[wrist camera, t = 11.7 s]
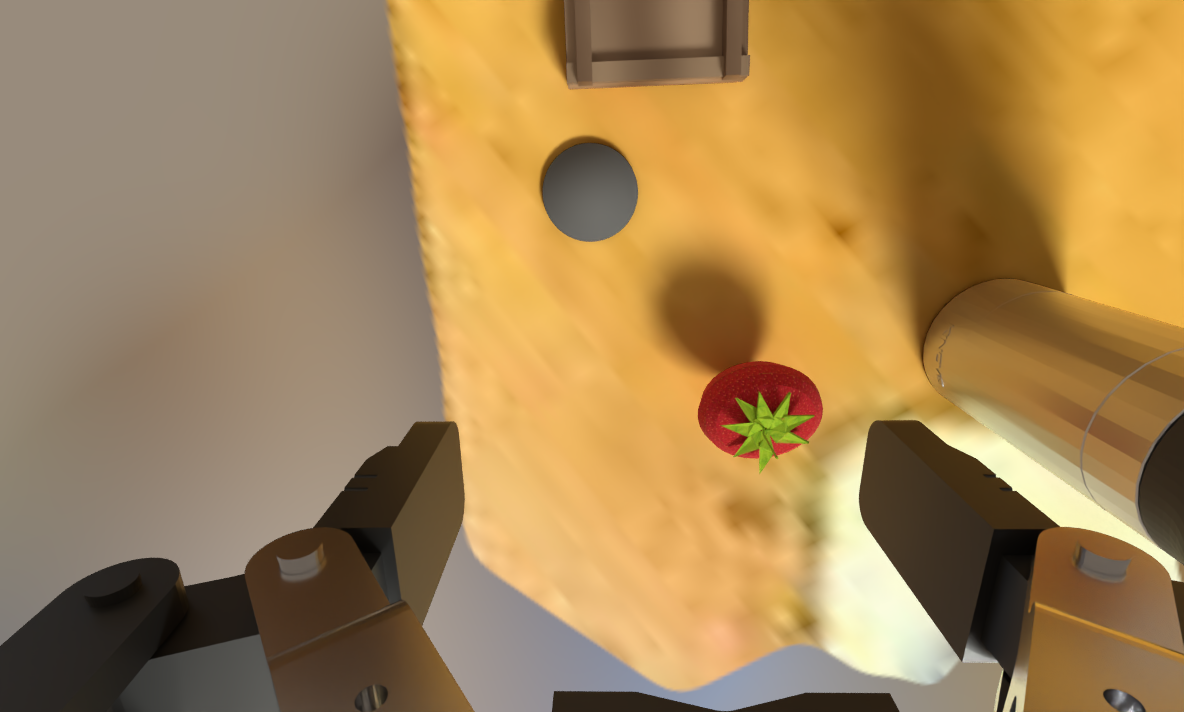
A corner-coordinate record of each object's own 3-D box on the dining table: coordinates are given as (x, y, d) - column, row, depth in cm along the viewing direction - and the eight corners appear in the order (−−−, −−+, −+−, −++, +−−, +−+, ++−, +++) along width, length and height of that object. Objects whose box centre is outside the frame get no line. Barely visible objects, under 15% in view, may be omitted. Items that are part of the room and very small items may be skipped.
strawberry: (795, 409, 42) (852, 482, 33) (690, 424, 43) (716, 500, 33) (791, 331, 40) (850, 384, 31) (681, 347, 41) (706, 405, 31)
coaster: (636, 141, 37) (637, 141, 36) (638, 239, 39) (638, 239, 38) (540, 145, 37) (539, 144, 36) (546, 242, 39) (545, 243, 38)
